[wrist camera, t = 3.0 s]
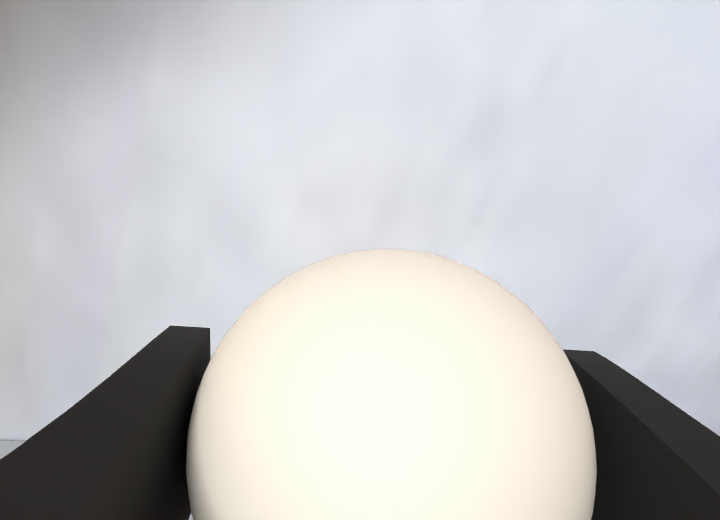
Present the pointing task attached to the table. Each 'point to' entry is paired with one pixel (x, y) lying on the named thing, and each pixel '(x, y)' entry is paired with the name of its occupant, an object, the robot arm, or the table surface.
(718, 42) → the table surface
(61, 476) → the robot arm
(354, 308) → the ball
